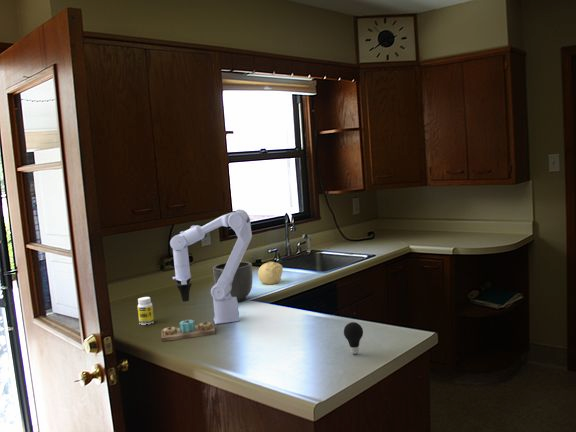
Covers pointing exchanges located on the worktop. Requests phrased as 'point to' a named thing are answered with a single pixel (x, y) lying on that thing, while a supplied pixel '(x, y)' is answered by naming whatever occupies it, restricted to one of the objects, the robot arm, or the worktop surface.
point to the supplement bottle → (145, 311)
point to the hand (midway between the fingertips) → (185, 298)
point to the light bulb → (353, 336)
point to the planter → (237, 279)
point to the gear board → (200, 330)
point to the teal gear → (187, 326)
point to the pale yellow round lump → (270, 273)
